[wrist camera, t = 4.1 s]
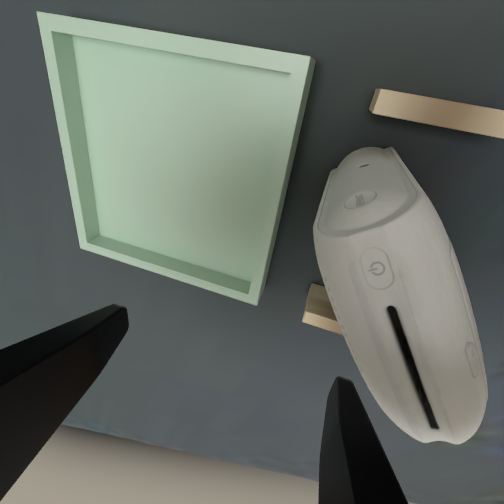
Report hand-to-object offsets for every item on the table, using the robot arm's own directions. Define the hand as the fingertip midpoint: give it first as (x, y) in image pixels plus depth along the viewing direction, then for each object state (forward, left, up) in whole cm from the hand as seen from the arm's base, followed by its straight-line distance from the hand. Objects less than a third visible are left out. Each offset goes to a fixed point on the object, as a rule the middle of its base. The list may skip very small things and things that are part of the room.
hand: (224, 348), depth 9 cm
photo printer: (-6, 0, -14) cm, 15 cm away
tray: (+9, 0, -13) cm, 16 cm away
